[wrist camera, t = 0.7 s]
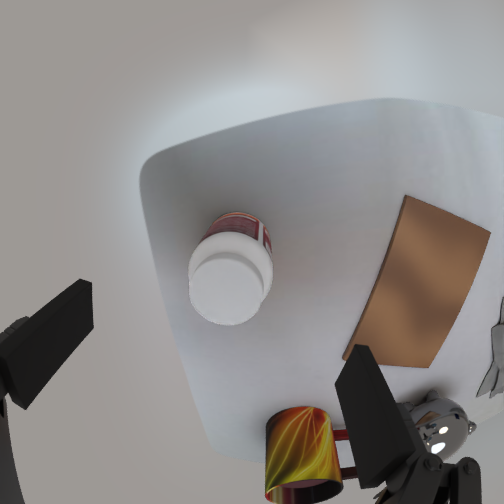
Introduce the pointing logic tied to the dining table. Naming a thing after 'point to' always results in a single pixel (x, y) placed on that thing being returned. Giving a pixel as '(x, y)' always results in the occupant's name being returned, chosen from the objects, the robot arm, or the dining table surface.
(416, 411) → the piggy bank
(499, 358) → the cloth
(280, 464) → the mug
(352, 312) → the dining table surface
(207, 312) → the pill bottle
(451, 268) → the cork mat
